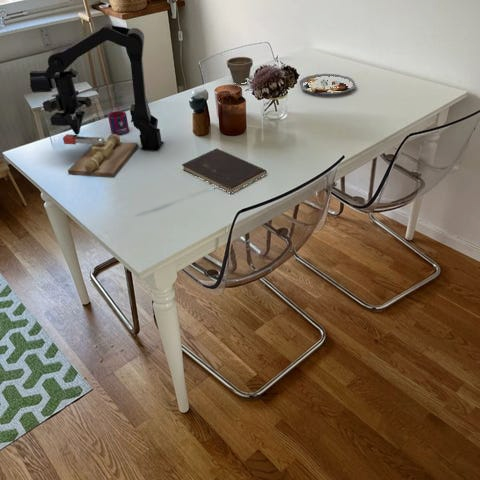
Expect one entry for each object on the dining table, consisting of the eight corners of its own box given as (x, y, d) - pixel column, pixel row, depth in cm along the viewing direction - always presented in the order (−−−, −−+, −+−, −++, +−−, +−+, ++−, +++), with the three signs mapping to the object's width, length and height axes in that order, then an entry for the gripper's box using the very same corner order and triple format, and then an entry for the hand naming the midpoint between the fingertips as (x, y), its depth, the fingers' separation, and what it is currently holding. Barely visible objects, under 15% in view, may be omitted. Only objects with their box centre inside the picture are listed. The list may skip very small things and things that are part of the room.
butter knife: (219, 189, 158) (214, 184, 160) (138, 219, 147) (133, 214, 149) (219, 190, 158) (214, 186, 160) (138, 220, 147) (134, 215, 149)
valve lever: (106, 142, 174) (105, 136, 173) (102, 146, 172) (101, 140, 171) (68, 140, 177) (66, 134, 176) (64, 143, 175) (62, 137, 173)
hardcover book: (230, 195, 155) (230, 188, 154) (182, 170, 169) (181, 164, 168) (266, 175, 164) (266, 169, 163) (218, 153, 178) (218, 147, 176)
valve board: (138, 146, 184) (135, 130, 180) (113, 177, 167) (110, 160, 163) (97, 144, 187) (93, 128, 183) (68, 174, 170) (64, 157, 166)
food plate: (359, 97, 212) (359, 88, 210) (302, 99, 213) (302, 91, 211) (349, 77, 233) (349, 70, 231) (297, 80, 234) (297, 72, 232)
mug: (114, 136, 192) (111, 119, 188) (106, 127, 199) (102, 110, 195) (131, 132, 194) (128, 115, 190) (122, 123, 201) (119, 106, 197)
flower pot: (226, 79, 236) (225, 57, 230) (251, 77, 237) (250, 55, 231) (229, 88, 227) (228, 65, 221) (254, 86, 228) (254, 63, 222)
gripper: (58, 79, 178) (68, 122, 188) (29, 100, 164) (42, 144, 173) (87, 80, 176) (97, 123, 185) (61, 101, 162) (72, 146, 171)
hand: (77, 134), depth 179 cm, fingers closed
